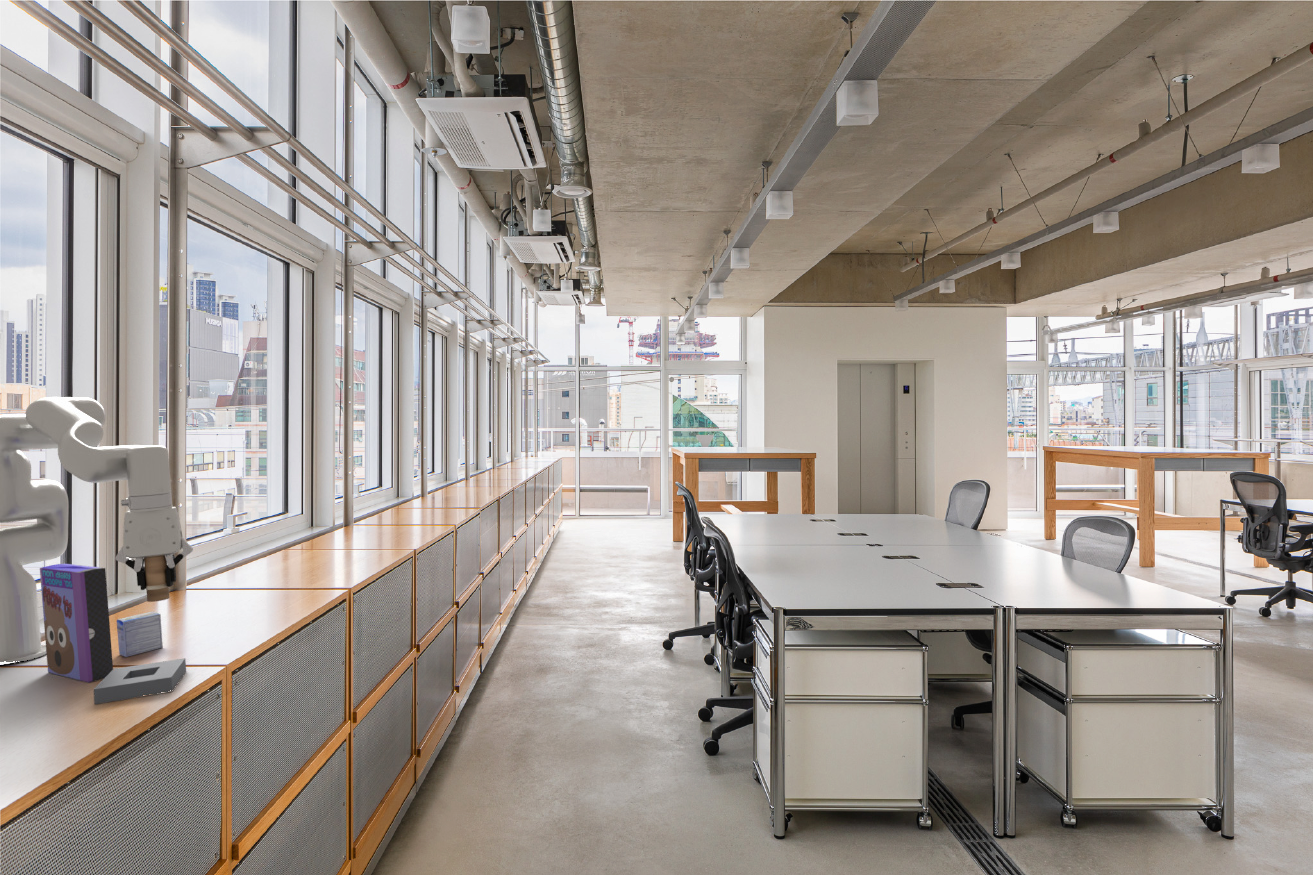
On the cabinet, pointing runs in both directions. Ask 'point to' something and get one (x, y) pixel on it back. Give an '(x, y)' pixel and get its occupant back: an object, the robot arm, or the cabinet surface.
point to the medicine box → (139, 633)
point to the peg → (156, 578)
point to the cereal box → (76, 621)
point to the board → (139, 680)
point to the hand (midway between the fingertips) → (157, 586)
